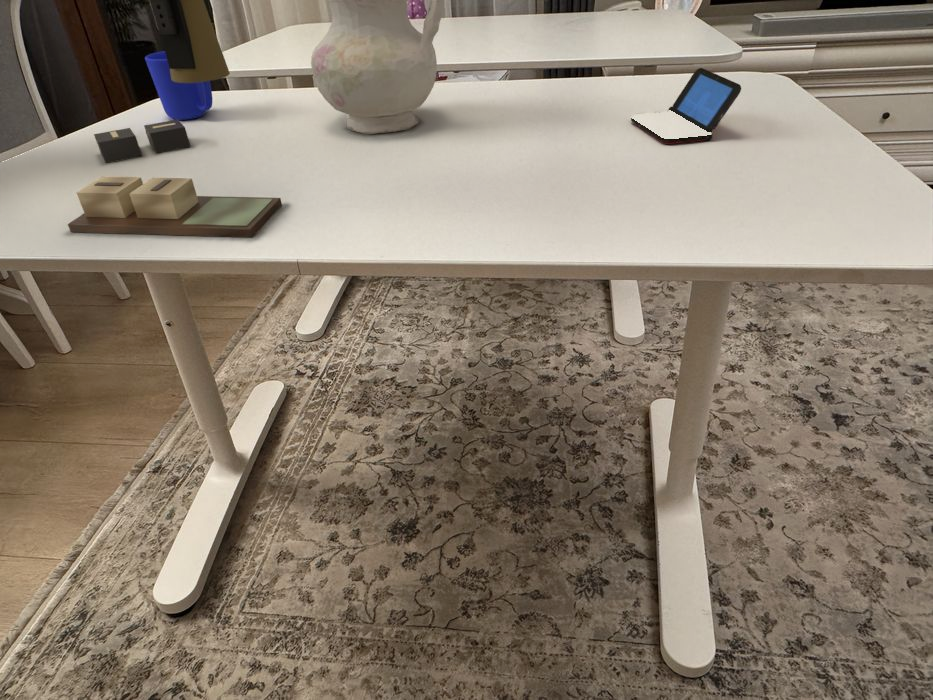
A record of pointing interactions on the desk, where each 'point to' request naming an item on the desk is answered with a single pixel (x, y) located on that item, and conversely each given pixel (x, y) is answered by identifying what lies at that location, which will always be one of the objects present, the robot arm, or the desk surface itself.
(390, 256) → the desk surface
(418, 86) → the ceramic pitcher
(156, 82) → the mug
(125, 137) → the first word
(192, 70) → the olive chess pawn
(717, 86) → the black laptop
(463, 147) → the desk surface
